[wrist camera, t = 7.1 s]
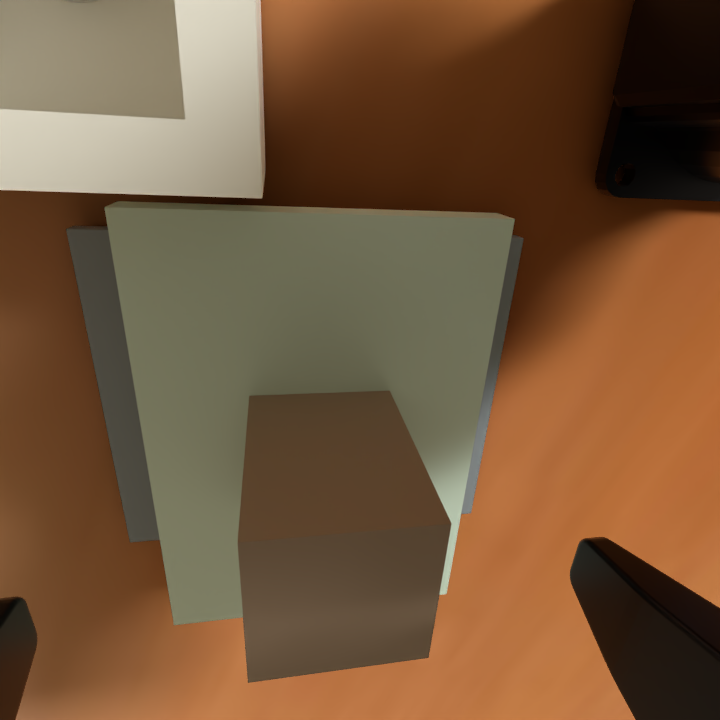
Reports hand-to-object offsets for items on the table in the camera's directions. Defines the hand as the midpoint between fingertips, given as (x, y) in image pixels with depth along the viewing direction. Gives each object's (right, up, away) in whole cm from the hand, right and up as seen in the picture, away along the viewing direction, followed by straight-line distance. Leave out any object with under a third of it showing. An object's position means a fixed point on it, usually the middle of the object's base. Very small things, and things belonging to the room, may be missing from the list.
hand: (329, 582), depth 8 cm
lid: (-1, +2, +4) cm, 4 cm away
